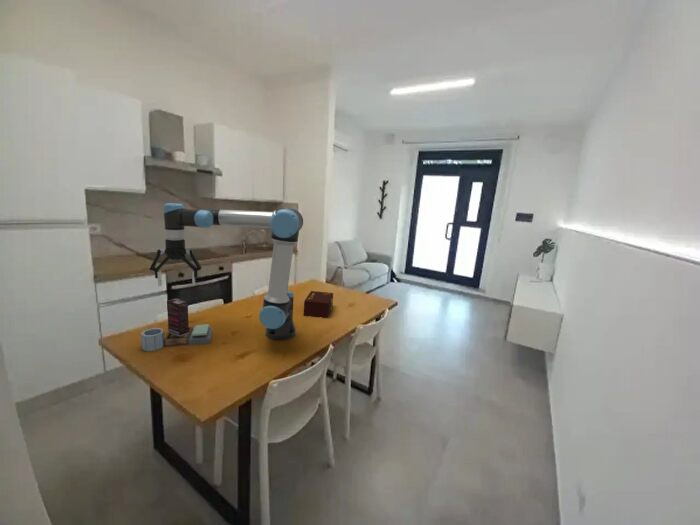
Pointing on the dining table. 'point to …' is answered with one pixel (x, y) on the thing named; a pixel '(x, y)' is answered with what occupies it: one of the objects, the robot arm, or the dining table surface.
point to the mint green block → (200, 330)
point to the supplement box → (178, 317)
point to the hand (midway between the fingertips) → (177, 285)
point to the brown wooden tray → (177, 339)
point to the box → (318, 304)
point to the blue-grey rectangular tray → (200, 338)
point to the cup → (152, 339)
